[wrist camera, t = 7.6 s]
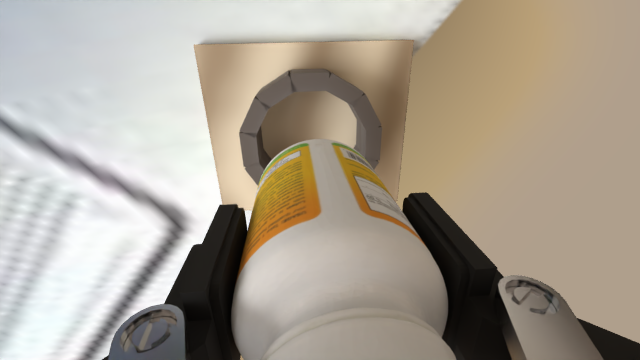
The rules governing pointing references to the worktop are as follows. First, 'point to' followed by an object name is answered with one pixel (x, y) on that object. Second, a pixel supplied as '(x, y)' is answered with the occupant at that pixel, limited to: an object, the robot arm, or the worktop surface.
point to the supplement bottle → (334, 266)
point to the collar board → (303, 105)
